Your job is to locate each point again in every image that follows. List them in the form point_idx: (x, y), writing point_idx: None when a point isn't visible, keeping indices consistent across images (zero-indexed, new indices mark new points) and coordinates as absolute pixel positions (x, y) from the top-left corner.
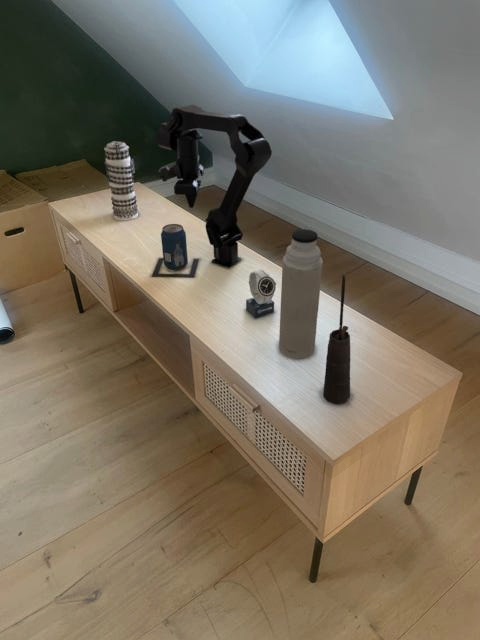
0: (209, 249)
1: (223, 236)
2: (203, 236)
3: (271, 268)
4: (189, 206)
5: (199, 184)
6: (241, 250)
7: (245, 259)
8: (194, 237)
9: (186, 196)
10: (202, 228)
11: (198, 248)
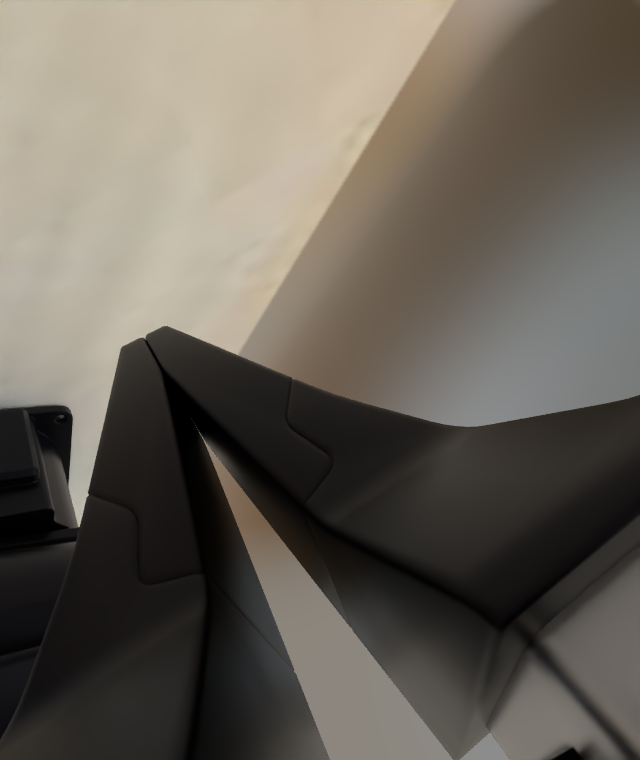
0: (82, 291)
1: (48, 544)
2: (257, 140)
3: None
4: (118, 364)
5: (442, 741)
6: None
7: (82, 503)
8: (217, 71)
9: (87, 555)
10: (373, 65)
11: (47, 208)
